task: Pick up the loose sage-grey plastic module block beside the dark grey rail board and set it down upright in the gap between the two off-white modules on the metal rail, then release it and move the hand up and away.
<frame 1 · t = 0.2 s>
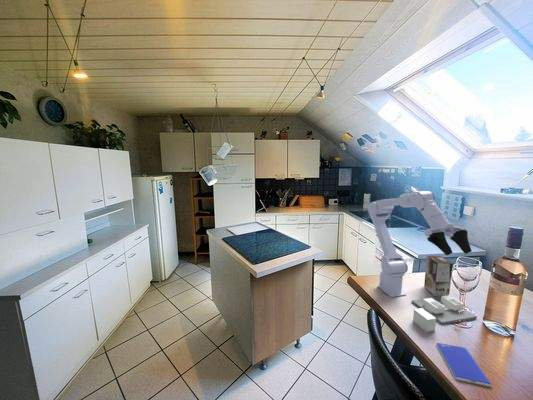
hand: (459, 253, 74), 30 cm above the table, tool tilted 45°, fingers open, 7 cm apart
rail board: (442, 310, 92), on the table
hard drive: (460, 365, 67), on the table
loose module: (423, 325, 83), on the table
coffee box: (435, 291, 105), on the table
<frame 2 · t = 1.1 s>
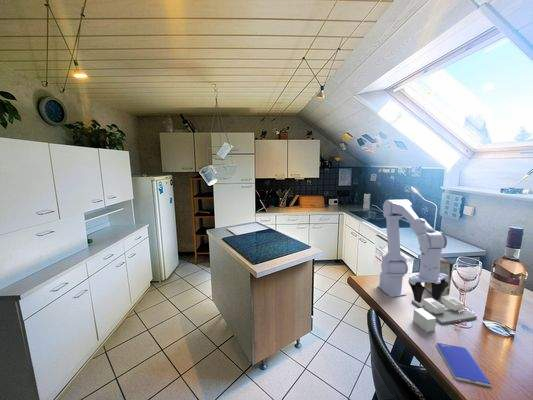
hand: (426, 299, 82), 10 cm above the table, tool pointing down, fingers open, 7 cm apart
nothing on the table moved.
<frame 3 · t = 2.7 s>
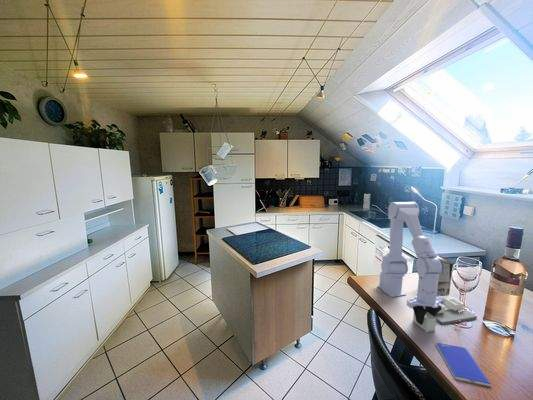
hand: (423, 322, 83), 1 cm above the table, tool pointing down, fingers closed on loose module, 3 cm apart
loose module: (423, 325, 83), on the table, touching gripper
everything else where it was.
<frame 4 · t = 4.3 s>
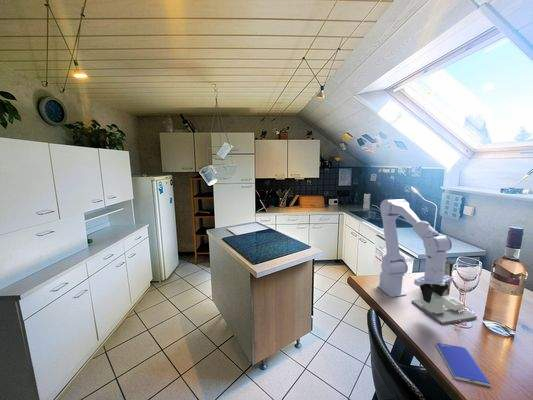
hand: (431, 300, 85), 8 cm above the table, tool pointing down, fingers closed on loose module, 3 cm apart
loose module: (431, 306, 85), point 6 cm above the table, touching gripper
everything else where it was.
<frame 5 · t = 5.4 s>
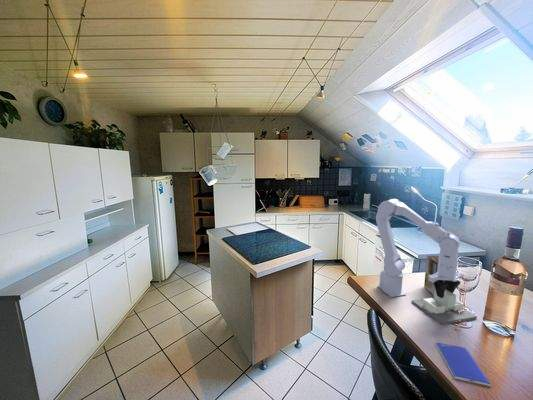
hand: (443, 296, 91), 6 cm above the table, tool pointing down, fingers closed on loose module, 3 cm apart
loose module: (443, 302, 91), point 3 cm above the table, touching gripper
everything else where it was.
when the fingers open (5 cm above the table, at t = 6.0 s): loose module stays where it is, resting on rail board.
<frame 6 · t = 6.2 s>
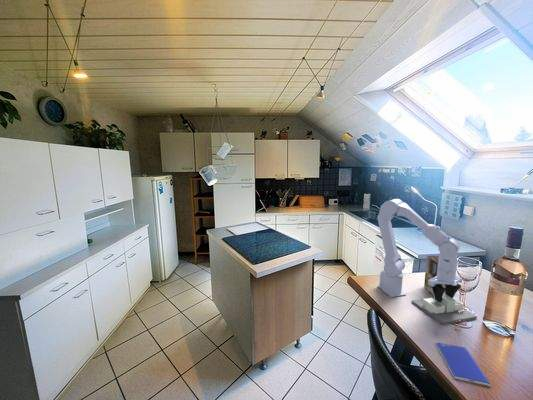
hand: (443, 299, 91), 5 cm above the table, tool pointing down, fingers open, 5 cm apart
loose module: (443, 307, 91), point 1 cm above the table, touching rail board
everything else where it was.
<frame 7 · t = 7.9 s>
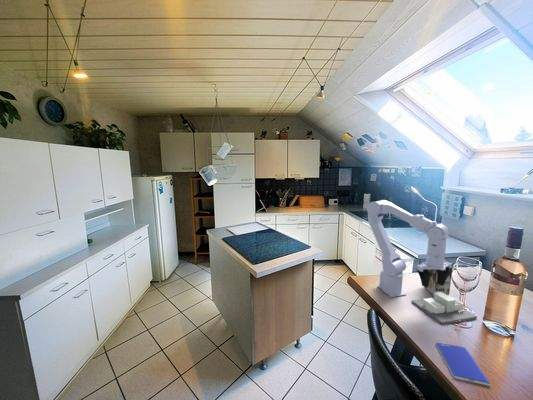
hand: (432, 285, 91), 10 cm above the table, tool pointing down, fingers open, 7 cm apart
nothing on the table moved.
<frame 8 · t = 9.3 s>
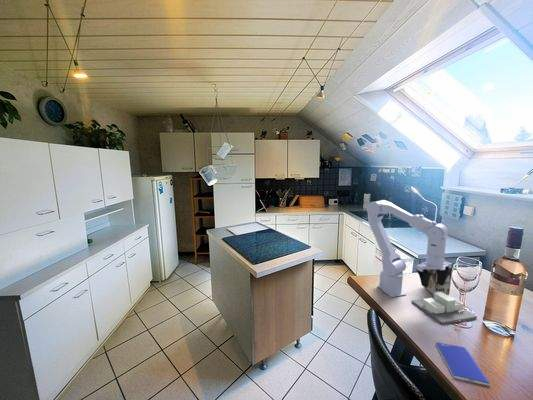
hand: (432, 285, 91), 10 cm above the table, tool pointing down, fingers open, 7 cm apart
nothing on the table moved.
at the end: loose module 0.3 cm off-centre on the rail board, point 1.4 cm above the rail board's base; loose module tilted 0°; the gripper is holding nothing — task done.
